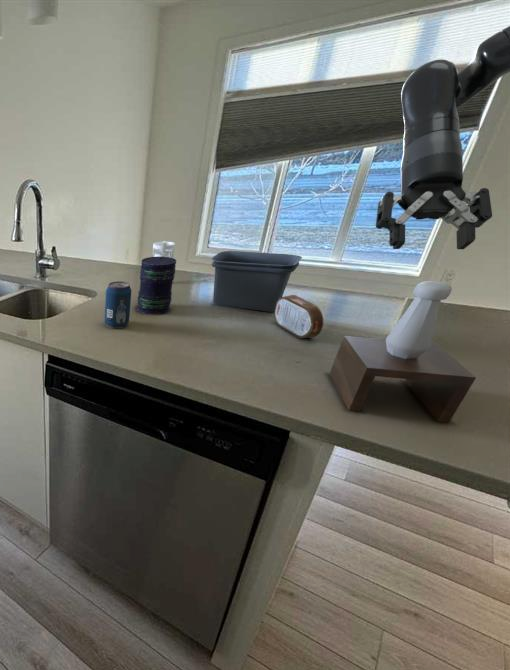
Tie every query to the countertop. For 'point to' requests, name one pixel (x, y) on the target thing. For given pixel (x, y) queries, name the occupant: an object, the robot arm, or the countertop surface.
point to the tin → (298, 316)
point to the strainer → (163, 249)
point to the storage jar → (156, 285)
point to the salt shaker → (418, 321)
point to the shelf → (400, 374)
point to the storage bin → (251, 278)
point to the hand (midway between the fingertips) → (431, 246)
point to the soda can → (117, 304)
